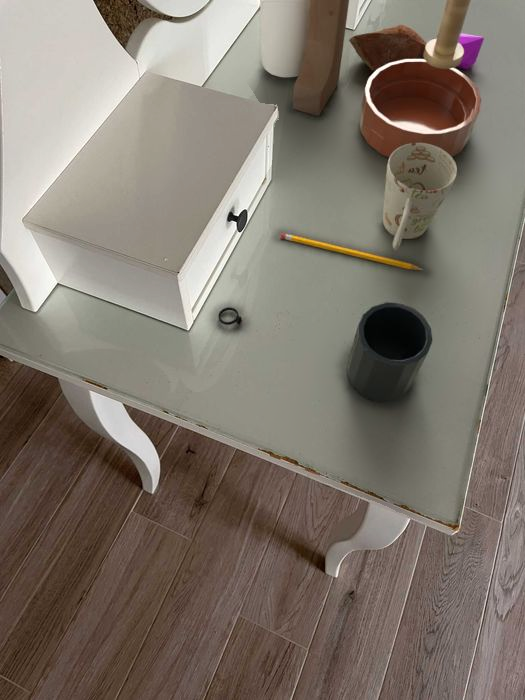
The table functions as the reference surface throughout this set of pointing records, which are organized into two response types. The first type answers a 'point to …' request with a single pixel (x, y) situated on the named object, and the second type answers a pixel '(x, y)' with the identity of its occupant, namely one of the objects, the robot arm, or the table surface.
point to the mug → (415, 188)
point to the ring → (238, 321)
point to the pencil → (349, 252)
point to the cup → (284, 35)
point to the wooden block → (321, 55)
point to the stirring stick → (448, 37)
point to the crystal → (469, 49)
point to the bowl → (418, 107)
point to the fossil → (388, 46)
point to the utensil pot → (388, 351)
